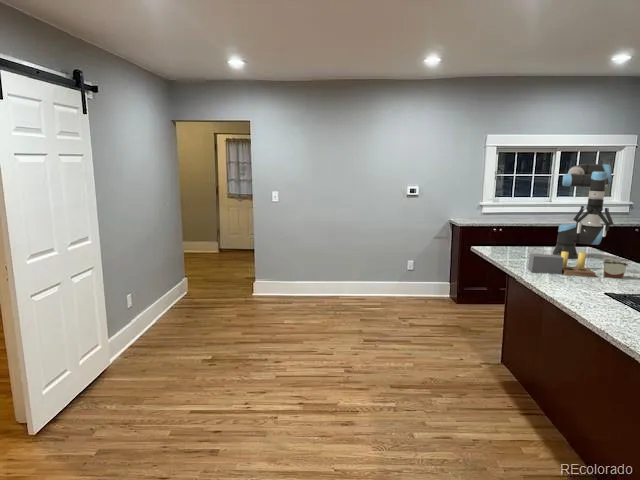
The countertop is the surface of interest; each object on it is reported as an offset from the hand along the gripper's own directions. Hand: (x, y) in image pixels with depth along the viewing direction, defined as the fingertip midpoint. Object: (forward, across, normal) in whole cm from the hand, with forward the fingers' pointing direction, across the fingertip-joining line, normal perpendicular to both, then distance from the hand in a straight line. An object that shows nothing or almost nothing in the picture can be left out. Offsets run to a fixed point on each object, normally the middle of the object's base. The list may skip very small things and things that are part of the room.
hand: (590, 234), depth 249 cm
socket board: (+24, -4, -4) cm, 24 cm away
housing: (+24, -17, -16) cm, 33 cm away
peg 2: (+24, -8, +12) cm, 28 cm away
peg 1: (+24, -15, +6) cm, 29 cm away
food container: (+24, +12, +6) cm, 27 cm away
